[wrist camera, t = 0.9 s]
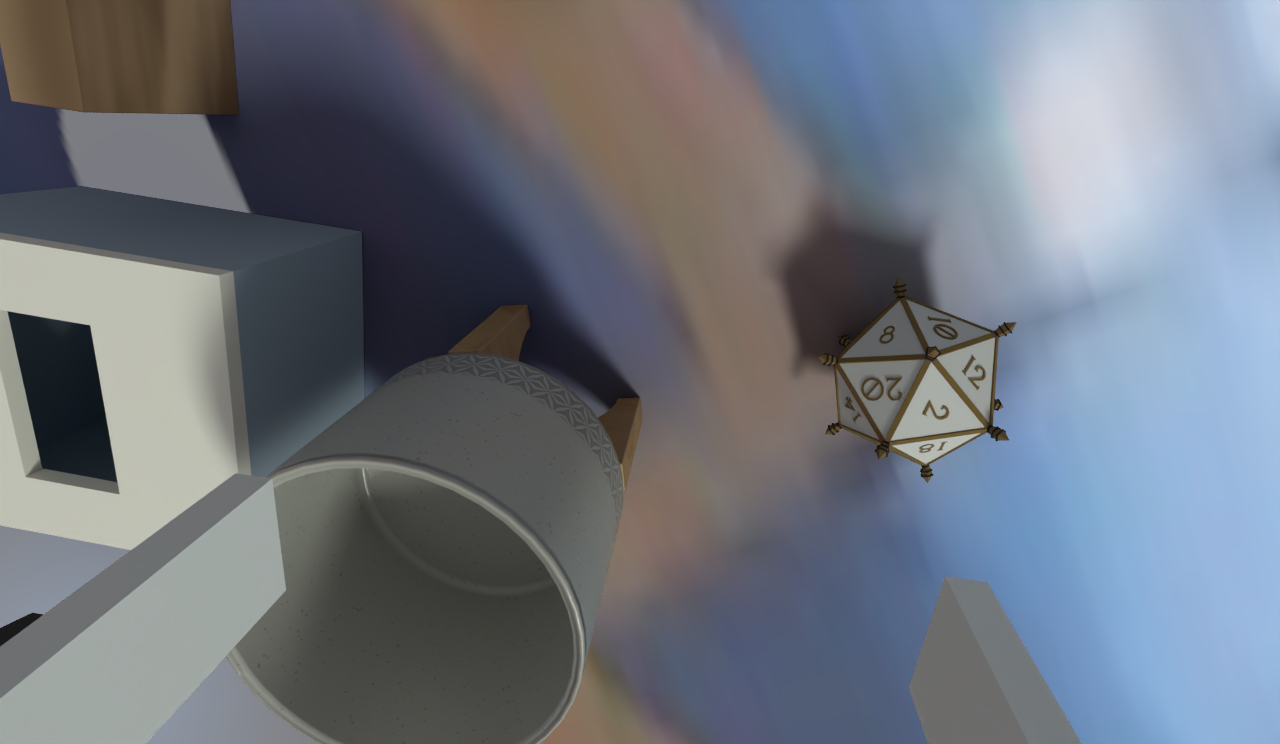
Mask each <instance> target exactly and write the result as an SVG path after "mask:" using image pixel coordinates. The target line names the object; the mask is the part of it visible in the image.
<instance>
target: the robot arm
mask: <svg viewBox="0 0 1280 744" xmlns="http://www.w3.org/2000/svg"><path fill="white" fill-rule="evenodd" d="M285 591H286V585H285V577H284V569H283V561H282V553H281V545H280V537H279V529H278V521H277V513H276V505H275V497H274V489H273V481H272V478H265V477H258V476H251V475H244V474H237V473H235V474H234V475H233V476H231V477H230V478H228V479H227V480H226V481H224V482H223V483H222V484H220V485H219V486H218V487H216V488H215V489H214V490H212V491H211V492H209V493H208V494H207V495H205V496H204V497H203V498H201V499H200V500H199V501H197V502H196V503H195V504H193V505H192V506H190V507H189V508H188V509H186V510H185V511H184V512H182V513H181V514H180V515H178V516H177V517H176V518H174V519H173V520H171V521H170V522H169V523H167V524H166V525H165V526H163V527H162V528H161V529H159V530H158V531H157V532H155V533H154V534H152V535H151V536H150V537H148V538H147V539H146V540H144V541H143V542H142V543H140V544H139V545H138V546H136V547H135V548H133V549H132V550H131V551H129V552H128V553H127V554H125V555H124V556H123V557H121V558H120V559H119V560H117V561H116V562H115V563H113V564H112V565H110V566H109V567H108V568H107V569H105V570H104V571H102V572H101V573H100V574H98V575H97V576H95V577H94V578H93V579H91V580H90V581H89V582H87V583H86V584H85V585H83V586H82V587H81V588H79V589H78V590H76V591H75V592H74V593H72V594H71V595H70V596H68V597H67V598H66V599H64V600H63V601H62V602H60V603H59V604H57V605H56V606H55V607H53V608H52V609H51V610H49V611H48V612H47V613H45V614H44V615H43V614H36V613H31V614H29V615H27V616H25V617H23V618H20V619H18V620H16V621H14V622H12V623H10V624H8V625H6V626H4V627H1V628H0V744H146V743H147V742H148V741H149V739H151V737H152V736H153V735H154V734H155V733H156V732H157V731H158V730H159V729H160V728H161V727H162V725H163V724H164V723H165V722H166V721H167V720H168V719H169V718H170V717H171V716H172V714H173V713H174V712H175V711H176V710H177V709H178V708H179V707H180V706H181V705H182V703H183V702H184V701H185V700H186V699H187V698H188V697H189V696H190V695H191V694H192V693H193V692H194V690H195V689H196V688H197V687H198V686H199V685H200V684H201V683H202V682H203V681H204V679H205V678H206V677H207V676H208V675H209V674H210V673H211V672H212V671H213V669H214V668H215V667H216V666H217V665H218V664H219V663H220V662H221V661H222V660H223V659H224V657H225V656H226V655H227V654H228V653H229V652H230V651H231V650H232V649H233V648H234V647H235V646H236V644H237V643H238V642H239V641H240V640H241V639H242V638H243V637H244V636H245V635H246V633H247V632H248V631H249V630H250V629H251V628H252V627H253V626H254V625H255V624H256V623H257V621H258V620H259V619H260V618H261V617H262V616H263V615H264V614H265V613H266V612H267V610H268V609H269V608H270V607H271V606H272V605H273V604H274V603H275V602H276V601H277V600H278V598H279V597H280V596H281V595H282V594H283V593H284V592H285ZM909 689H910V692H911V695H912V698H913V701H914V704H915V707H916V710H917V713H918V716H919V719H920V722H921V725H922V728H923V731H924V734H925V737H926V740H927V743H928V744H1081V742H1080V740H1079V738H1078V737H1077V735H1076V733H1075V732H1074V730H1073V728H1072V726H1071V725H1070V723H1069V721H1068V720H1067V718H1066V716H1065V714H1064V713H1063V711H1062V709H1061V708H1060V706H1059V704H1058V702H1057V701H1056V699H1055V697H1054V696H1053V694H1052V692H1051V690H1050V689H1049V687H1048V685H1047V684H1046V682H1045V680H1044V679H1043V677H1042V675H1041V673H1040V672H1039V670H1038V668H1037V667H1036V665H1035V663H1034V661H1033V660H1032V658H1031V656H1030V655H1029V653H1028V651H1027V649H1026V648H1025V646H1024V644H1023V643H1022V641H1021V639H1020V637H1019V636H1018V634H1017V632H1016V631H1015V629H1014V627H1013V625H1012V624H1011V622H1010V620H1009V619H1008V617H1007V615H1006V613H1005V612H1004V610H1003V608H1002V607H1001V605H1000V603H999V602H998V600H997V598H996V596H995V595H994V593H993V591H992V590H991V588H990V586H989V584H988V583H987V582H980V581H973V580H966V579H960V578H953V577H946V576H945V579H944V582H943V585H942V588H941V591H940V594H939V597H938V600H937V603H936V606H935V609H934V612H933V615H932V618H931V622H930V625H929V628H928V631H927V634H926V637H925V640H924V643H923V646H922V649H921V652H920V655H919V658H918V661H917V665H916V668H915V671H914V674H913V677H912V680H911V683H910V686H909Z"/></svg>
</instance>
